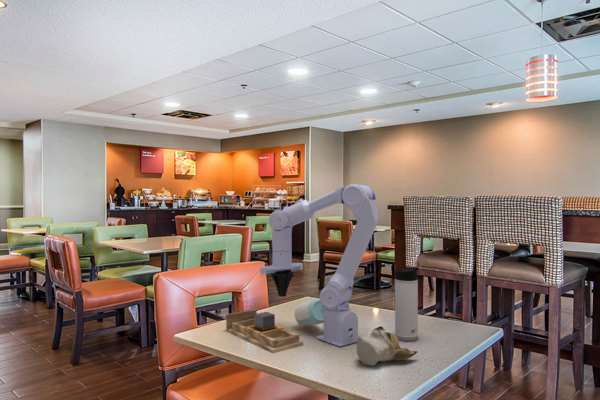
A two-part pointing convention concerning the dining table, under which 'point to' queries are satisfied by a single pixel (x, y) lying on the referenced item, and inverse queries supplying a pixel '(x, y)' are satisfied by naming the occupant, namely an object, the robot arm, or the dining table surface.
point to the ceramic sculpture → (381, 347)
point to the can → (310, 313)
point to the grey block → (264, 321)
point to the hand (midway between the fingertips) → (282, 296)
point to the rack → (269, 340)
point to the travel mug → (406, 304)
